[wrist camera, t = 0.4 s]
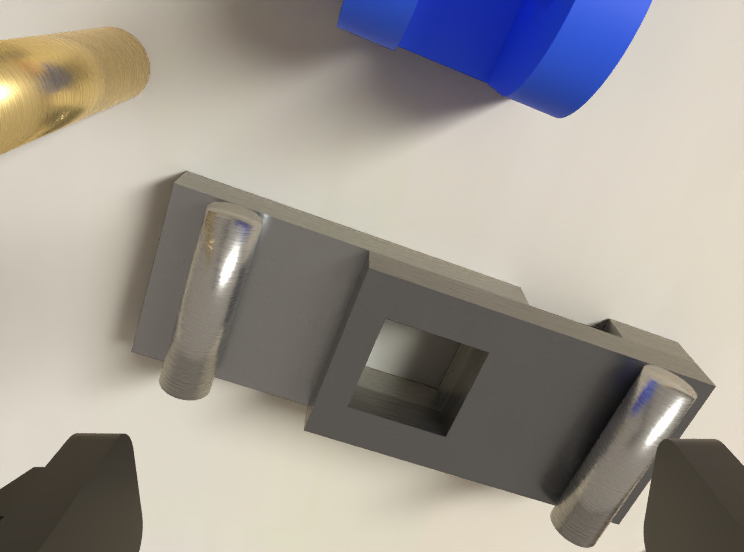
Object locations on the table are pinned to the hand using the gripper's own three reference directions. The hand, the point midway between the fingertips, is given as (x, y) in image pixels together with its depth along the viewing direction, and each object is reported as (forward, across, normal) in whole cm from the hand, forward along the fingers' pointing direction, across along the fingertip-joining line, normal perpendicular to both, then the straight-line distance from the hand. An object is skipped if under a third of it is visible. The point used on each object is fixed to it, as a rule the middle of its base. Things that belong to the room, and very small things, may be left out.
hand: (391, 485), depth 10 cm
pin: (+20, +12, -6) cm, 24 cm away
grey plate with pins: (+22, -2, +7) cm, 23 cm away
